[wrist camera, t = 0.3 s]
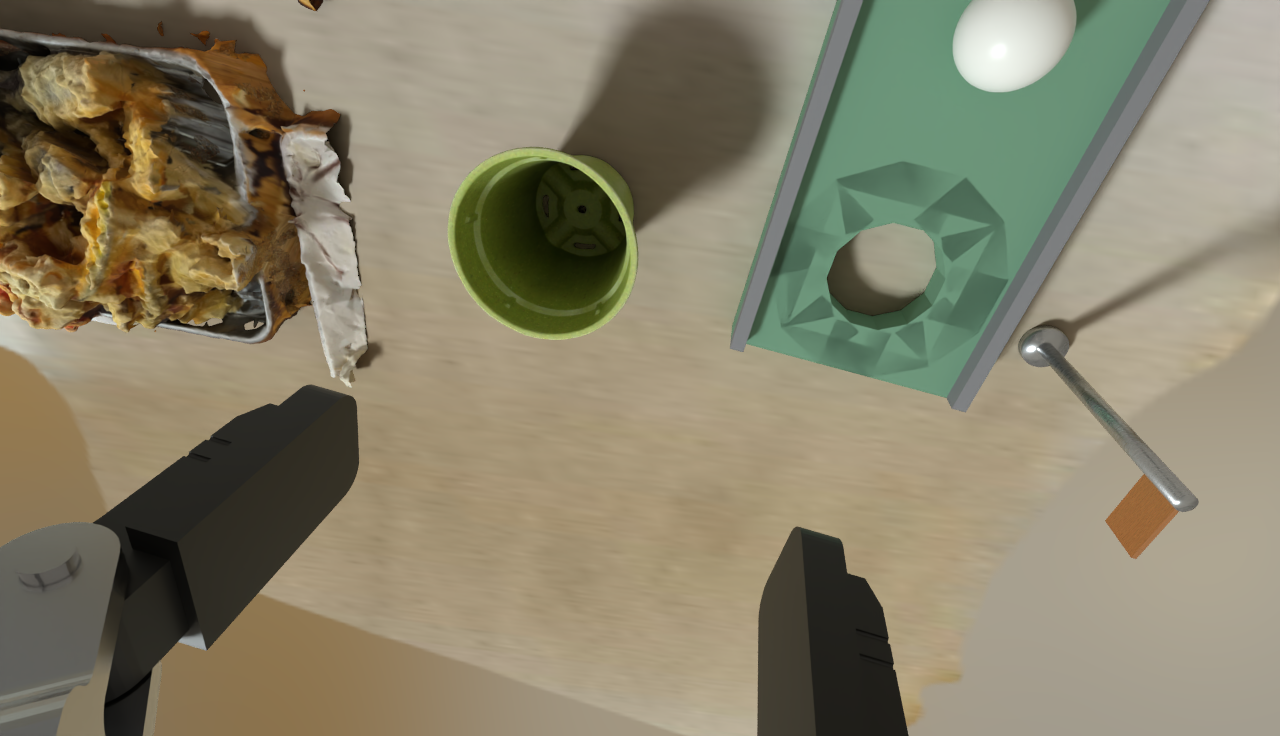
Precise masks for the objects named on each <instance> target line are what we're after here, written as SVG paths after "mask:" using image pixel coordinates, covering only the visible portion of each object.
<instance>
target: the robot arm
mask: <svg viewBox="0 0 1280 736" xmlns="http://www.w3.org/2000/svg"><path fill="white" fill-rule="evenodd" d="M358 466H359V448H358V423H357V404H356V401H355V399H354V398H353V397H352V396H349V395H346V394H342V393H339V392H335V391H332V390H329V389H325V388H322V387H318V386H315V385H306V386H304V387H302V388H301V389H299V390H298V391H297V392H296V393H294V394H293V395H292V396H290V397H289V398H288V399H287V400H285V401H284V402H283V403H281V404H280V405H279V406H277V405H274V404H267V405H265V406H262V407H260V408H257V409H255V410H252V411H250V412H247V413H245V414H242V415H240V416H237V417H236V418H234V419H233V420H232V421H230V422H229V423H227V424H226V425H225V426H223V427H222V428H221V429H219V430H218V431H217V432H215V433H214V434H213V435H211V438H210V440H205V441H203V442H202V443H201V444H199V445H198V446H196V447H195V448H194V449H192V450H191V451H190V452H189V455H188V456H187V457H185V456H183V457H182V458H180V459H179V460H178V461H176V462H175V463H174V464H172V465H171V466H170V467H168V468H167V469H165V470H164V471H163V472H161V473H160V474H159V475H157V476H156V477H155V478H153V479H152V480H151V481H149V482H148V483H147V484H145V485H144V486H143V487H141V488H140V489H139V490H137V491H136V492H135V493H133V494H132V495H130V496H129V497H128V498H126V499H125V500H124V501H122V502H121V503H120V504H118V505H117V506H116V507H114V508H113V509H112V510H110V511H109V512H108V513H106V514H105V515H104V516H102V517H101V518H99V519H98V520H96V521H95V522H93V523H86V522H73V523H65V524H58V525H53V526H48V527H45V528H41V529H38V530H35V531H32V532H30V533H27V534H25V535H22V536H20V537H18V538H16V539H14V540H12V541H10V542H9V543H7V544H5V545H3V546H2V547H0V736H153V734H154V726H155V719H156V711H157V704H158V696H159V688H160V681H161V673H162V665H161V661H160V660H161V659H162V658H163V657H164V656H165V655H166V654H167V653H168V652H169V650H170V649H171V648H172V647H173V646H174V645H175V644H176V643H177V642H181V643H184V644H187V645H190V646H193V647H196V648H199V649H203V650H208V648H210V646H211V645H212V644H213V643H214V641H216V640H217V638H218V637H219V636H220V635H221V634H222V633H223V632H224V631H225V630H226V628H227V627H228V626H229V625H230V624H231V623H232V622H233V621H234V619H235V618H236V617H237V616H238V615H239V614H240V613H241V612H242V611H243V609H244V608H245V607H246V606H247V605H248V604H249V603H250V601H251V600H252V599H253V598H254V597H255V596H256V595H257V594H258V593H259V591H260V590H261V589H262V588H263V587H264V586H265V585H266V584H267V582H268V581H269V580H270V579H271V578H272V577H273V576H274V575H275V573H276V572H277V571H278V570H279V569H280V568H281V567H282V566H283V565H284V563H285V562H286V561H287V560H288V559H289V558H290V557H291V556H292V554H293V553H294V552H295V551H296V550H297V549H298V548H299V547H300V545H301V544H302V543H303V542H304V541H305V540H306V539H307V538H308V536H309V535H310V534H311V533H312V532H313V531H314V530H315V529H316V527H317V526H318V525H319V524H320V523H321V522H322V521H323V520H324V519H325V517H326V516H327V515H328V514H329V513H330V512H331V511H332V510H333V508H334V507H335V506H336V505H337V504H338V503H339V502H340V501H341V499H342V498H343V497H344V496H345V495H346V494H347V492H348V491H349V489H350V488H351V486H352V484H353V482H354V480H355V477H356V474H357V471H358ZM888 639H889V637H888V632H887V627H886V622H885V618H884V613H883V608H882V606H881V605H880V603H879V601H878V599H877V598H876V596H875V594H874V593H873V591H872V589H871V588H870V586H869V584H868V583H867V581H866V579H865V578H861V577H858V576H855V575H851V574H848V573H847V569H846V562H845V556H844V549H843V544H842V542H841V540H840V539H839V538H835V537H832V536H828V535H825V534H821V533H818V532H814V531H811V530H808V529H804V528H801V527H795V528H794V529H793V530H792V532H791V534H790V536H789V538H788V540H787V542H786V544H785V546H784V548H783V550H782V552H781V554H780V556H779V558H778V560H777V562H776V564H775V566H774V568H773V570H772V572H771V574H770V576H769V579H768V581H767V583H766V585H765V588H764V591H763V595H762V599H761V603H760V610H759V627H758V732H757V736H908V731H907V726H906V721H905V716H904V711H903V706H902V701H901V696H900V691H899V687H898V682H897V677H896V672H895V670H893V664H894V662H893V657H892V652H891V647H890V644H888Z"/></svg>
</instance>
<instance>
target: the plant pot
mask: <svg viewBox="0 0 1280 736" xmlns="http://www.w3.org/2000/svg"><path fill="white" fill-rule="evenodd" d="M572 166H574V167H575V168H577V169H579V170H571V169H570V168H571V167H572ZM544 195H548V197H549V200H548V210H549V213H548V214H549V217H548V218H547V216H546V215H545V213H544V210H543V205H542V203H543V197H544ZM581 205H583V206H585V207H586V212H585V213H580V212H579V211H578V207H579V206H581ZM619 214H620V216H621V218H622V220H623V221H622V222H620V221H619ZM633 217H634V205H633V199H632V195H631V192H630V189H629V187H628V185H627V184H626V182H625V181H624V179H623V178H622V177H621V176H620V174H619V173H618V172H617V171H616V170H615V169H614V168H612V167H611V166H610V165H609V164H608V163H606V162H604V161H603V160H600V159H598V158H595V157H591V156H586V155H573V156H572V155H569V154H567V153H564V152H561V151H558V150H554V149H549V148H542V147H524V148H516V149H512V150H508V151H505V152H502V153H499V154H496V155H494V156H492V157H490V158H488V159H487V160H485V161H484V162H482V163H481V164H479V165H478V166H477V167H476V168H475V169H474V170H473V171H472V172H471V173H470V174H469V175H468V176H467V177H466V178H465V180H464V181H463V182H462V184H461V185H460V187H459V188H458V190H457V192H456V194H455V196H454V199H453V201H452V205H451V208H450V213H449V219H448V243H449V248H450V252H451V257H452V260H453V263H454V266H455V269H456V271H457V273H458V276H459V277H460V279H461V281H462V283H463V285H464V286H465V288H466V290H467V291H468V293H469V294H470V295H471V297H472V298H473V299H474V300H475V302H476V303H477V304H478V305H479V306H480V307H481V308H482V309H483V310H484V311H485V312H486V313H487V314H489V315H490V316H491V317H492V318H494V319H495V320H497V321H498V322H500V323H502V324H503V325H505V326H507V327H509V328H511V329H513V330H515V331H517V332H519V333H521V334H524V335H527V336H531V337H535V338H541V339H550V340H563V339H570V338H576V337H580V336H583V335H586V334H589V333H591V332H593V331H595V330H597V329H599V328H600V327H602V326H603V325H605V324H606V323H608V322H609V321H610V320H611V319H612V318H614V317H615V316H616V315H617V313H618V312H619V311H620V310H621V309H622V307H623V306H624V304H625V303H626V301H627V299H628V298H629V296H630V293H631V291H632V289H633V286H634V282H635V278H636V274H637V267H638V246H637V239H636V234H635V230H634V227H633ZM575 243H583V244H595V245H596V246H595V248H594V249H579V248H576V247H575V246H574V244H575Z"/></svg>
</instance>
